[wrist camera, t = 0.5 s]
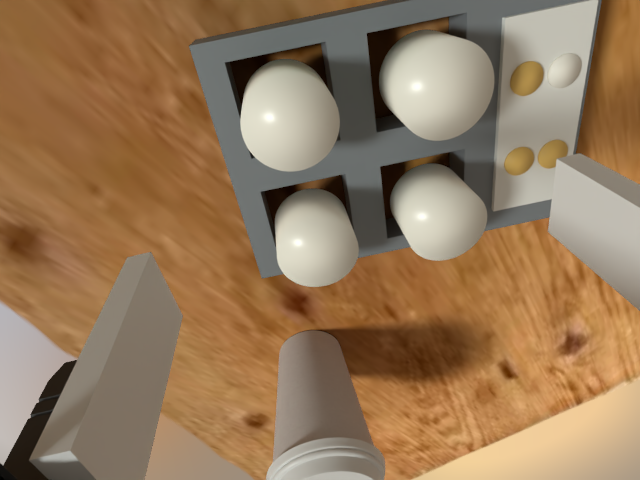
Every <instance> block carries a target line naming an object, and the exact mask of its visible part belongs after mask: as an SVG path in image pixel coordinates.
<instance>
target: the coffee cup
mask: <svg viewBox="0 0 640 480" xmlns="http://www.w3.org/2000/svg"><path fill="white" fill-rule="evenodd" d="M384 476H385V460H384V457H383V455H382V453H381V452H380V451H379V450H378V449H377V448H376V447H375V446H374V445H373V442H372V439H371V436H370V433H369V430H368V427H367V424H366V421H365V419H364V416H363V413H362V410H361V407H360V404H359V401H358V398H357V395H356V392H355V389H354V386H353V383H352V380H351V377H350V374H349V371H348V368H347V365H346V362H345V359H344V356H343V353H342V350H341V347H340V345H339V342H338V341H337V339H336V338H335V337H333V336H332V335H330V334H328V333H326V332H323V331H316V330H310V331H304V332H300V333H297V334H295V335H293V336H292V337H290V338H289V339H287V340H286V341H285V343H284V344H283V345H282V347H281V349H280V355H279V372H278V389H277V406H276V423H275V439H274V455H273V463H272V465H271V466H270V468H269V470H268V472H267V476H266V480H384Z"/></svg>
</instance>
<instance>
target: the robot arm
mask: <svg viewBox="0 0 640 480" xmlns="http://www.w3.org/2000/svg"><path fill="white" fill-rule="evenodd" d="M548 232H549V233H550V234H551V235H552V236H553V237H555V238H556V239H557V240H558V241H559V242H560V243H562V244H563V245H564V246H565V247H566V248H567V249H569V250H570V251H571V252H572V253H573V254H574V255H576V256H577V257H578V258H579V259H580V260H581V261H582V262H584V263H585V264H586V265H587V266H588V267H589V268H591V269H592V270H593V271H594V272H595V273H596V274H598V275H599V276H600V277H601V278H602V279H603V280H604V281H606V282H607V283H608V284H609V285H610V286H611V287H613V288H614V289H615V290H616V291H617V292H618V293H620V294H621V295H622V296H623V297H624V298H625V299H627V300H628V301H629V302H630V303H631V304H632V305H633V306H635V307H636V308H637V309H638V310H639V311H640V185H639V184H637V183H635V182H634V181H632V180H630V179H628V178H626V177H624V176H622V175H620V174H619V173H617V172H615V171H613V170H611V169H609V168H607V167H605V166H603V165H602V164H600V163H598V162H596V161H594V160H592V159H590V158H588V157H586V156H585V155H583V154H581V153H579V154H575V155H570V156H566V157H562V158H557V160H556V168H555V177H554V185H553V194H552V202H551V211H550V219H549V227H548ZM182 317H183V315H182V313H181V311H180V309H179V307H178V305H177V303H176V301H175V299H174V297H173V295H172V293H171V291H170V289H169V287H168V285H167V283H166V281H165V279H164V277H163V275H162V273H161V271H160V269H159V267H158V265H157V263H156V261H155V259H154V257H153V255H152V253H151V252H149V253H145V254H140V255H136V256H132V257H127V259H126V261H125V263H124V265H123V267H122V269H121V271H120V274H119V276H118V278H117V280H116V282H115V284H114V286H113V288H112V290H111V292H110V294H109V296H108V298H107V300H106V302H105V304H104V306H103V309H102V311H101V313H100V315H99V317H98V319H97V321H96V323H95V325H94V327H93V329H92V331H91V333H90V335H89V337H88V339H87V341H86V344H85V346H84V348H83V350H82V352H81V354H80V356H79V358H78V360H75V361H71V362H66V363H64V364H63V366H62V367H61V368H60V369H59V370H58V371H57V372H56V373H55V374H54V375H53V376H52V378H51V379H50V380H49V381H48V383H47V385H46V387H45V389H44V390H43V392H42V394H41V396H40V398H39V403H37V404H36V405H35V407H34V409H33V411H32V413H31V418H30V419H28V420H27V422H26V424H25V426H24V428H23V430H22V432H21V434H20V435H19V437H18V439H17V441H16V443H15V445H14V447H13V448H12V450H11V452H10V454H9V456H8V458H7V460H6V462H5V463H4V465H2V464H0V480H145V476H146V471H147V467H148V462H149V458H150V454H151V450H152V446H153V441H154V437H155V432H156V428H157V424H158V420H159V416H160V411H161V407H162V403H163V398H164V394H165V390H166V386H167V381H168V377H169V373H170V369H171V364H172V360H173V356H174V351H175V347H176V343H177V339H178V334H179V330H180V326H181V321H182Z"/></svg>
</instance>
